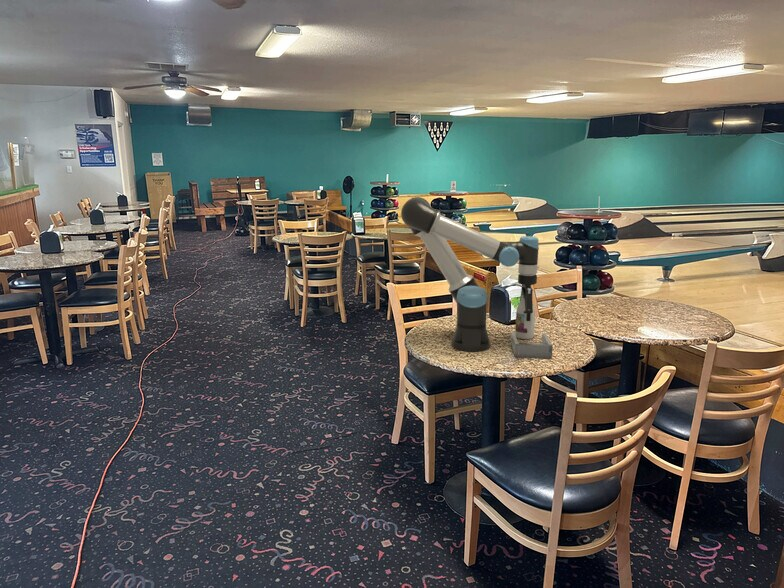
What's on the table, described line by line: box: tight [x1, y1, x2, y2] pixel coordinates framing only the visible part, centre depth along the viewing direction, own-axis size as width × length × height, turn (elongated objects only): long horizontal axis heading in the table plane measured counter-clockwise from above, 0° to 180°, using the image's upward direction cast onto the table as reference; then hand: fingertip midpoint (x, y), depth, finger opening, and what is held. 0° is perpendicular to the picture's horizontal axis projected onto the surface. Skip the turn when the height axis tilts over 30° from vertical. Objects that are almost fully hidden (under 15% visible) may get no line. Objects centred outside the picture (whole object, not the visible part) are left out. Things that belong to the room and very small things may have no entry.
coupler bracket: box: [510, 331, 554, 359], centre depth 204 cm, size 13×16×5 cm
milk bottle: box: [515, 290, 536, 340], centre depth 220 cm, size 8×8×20 cm
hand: (525, 323), depth 221 cm, fingers open, 13 cm apart
